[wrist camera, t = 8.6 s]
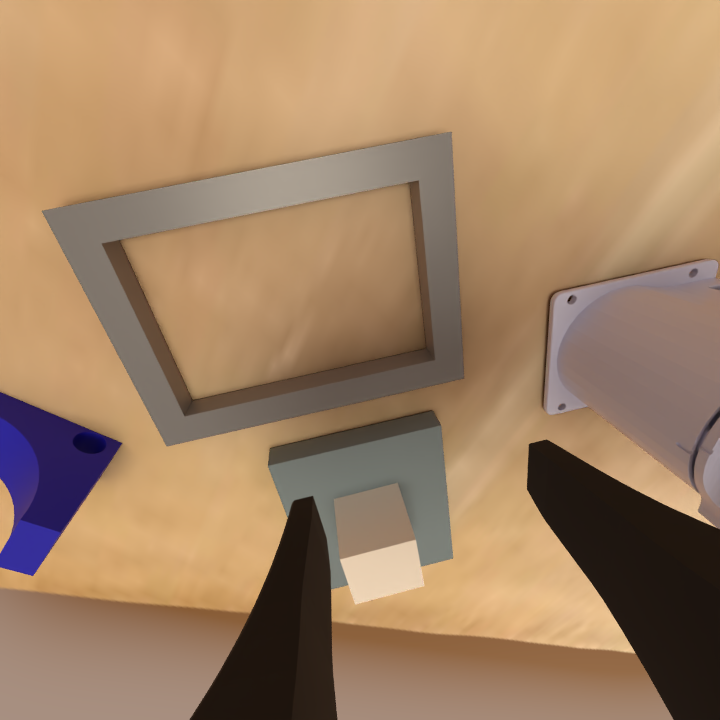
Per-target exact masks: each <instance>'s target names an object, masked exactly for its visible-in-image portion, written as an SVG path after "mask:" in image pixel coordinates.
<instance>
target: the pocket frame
mask: <svg viewBox="0 0 720 720" xmlns="http://www.w3.org/2000/svg"><path fill="white" fill-rule="evenodd" d="M408 182H410V192H411V202H412V212H413V221H414V231H415V241H416V251H417V261H418V271H419V281H420V290H421V300H422V310H423V320H424V330H425V340H426V349H422V350H417V351H413V352H408V353H404V354H399V355H395V356H390V357H386V358H381V359H377V360H372V361H368V362H363V363H359V364H354V365H350V366H345V367H341V368H337V369H332V370H328V371H323V372H319V373H314V374H310V375H305V376H301V377H296V378H292V379H287V380H283V381H278V382H274V383H269V384H265V385H260V386H256V387H251V388H247V389H242V390H238V391H233V392H229V393H225V394H220V395H216V396H211V397H207V398H202V399H198V400H193V401H192V399H191V396H190V394H189V392H188V390H187V388H186V386H185V383H184V381H183V379H182V377H181V375H180V372H179V370H178V368H177V366H176V364H175V361H174V359H173V357H172V355H171V353H170V351H169V348H168V346H167V344H166V342H165V340H164V337H163V335H162V333H161V331H160V329H159V326H158V324H157V322H156V320H155V318H154V316H153V313H152V311H151V309H150V307H149V305H148V302H147V300H146V298H145V296H144V294H143V291H142V289H141V287H140V285H139V283H138V280H137V278H136V276H135V274H134V272H133V270H132V267H131V265H130V263H129V261H128V259H127V256H126V254H125V252H124V250H123V248H122V245H121V243H120V241H119V240H122V239H127V238H132V237H137V236H142V235H147V234H152V233H157V232H162V231H167V230H172V229H177V228H182V227H187V226H192V225H197V224H202V223H207V222H212V221H217V220H222V219H227V218H232V217H237V216H242V215H247V214H252V213H257V212H262V211H267V210H272V209H277V208H282V207H287V206H293V205H298V204H303V203H308V202H313V201H318V200H323V199H328V198H333V197H338V196H343V195H348V194H353V193H358V192H363V191H368V190H373V189H378V188H383V187H388V186H393V185H398V184H403V183H408ZM42 213H43V214H44V216H45V218H46V220H47V222H48V224H49V226H50V228H51V230H52V231H53V233H54V235H55V237H56V239H57V241H58V243H59V245H60V246H61V248H62V250H63V252H64V254H65V256H66V258H67V260H68V262H69V263H70V265H71V267H72V269H73V271H74V273H75V275H76V277H77V278H78V280H79V282H80V284H81V286H82V288H83V290H84V292H85V294H86V295H87V297H88V299H89V301H90V303H91V305H92V307H93V309H94V310H95V312H96V314H97V316H98V318H99V320H100V322H101V324H102V326H103V327H104V329H105V331H106V333H107V335H108V337H109V339H110V341H111V342H112V344H113V346H114V348H115V350H116V352H117V354H118V356H119V358H120V359H121V361H122V363H123V365H124V367H125V369H126V371H127V373H128V374H129V376H130V378H131V380H132V382H133V384H134V386H135V388H136V390H137V391H138V393H139V395H140V397H141V399H142V401H143V403H144V405H145V406H146V408H147V410H148V412H149V414H150V416H151V418H152V420H153V422H154V423H155V425H156V427H157V429H158V431H159V433H160V435H161V437H162V438H163V440H164V442H165V444H166V446H171V445H175V444H180V443H184V442H189V441H193V440H197V439H202V438H206V437H210V436H215V435H219V434H224V433H228V432H232V431H237V430H241V429H245V428H250V427H254V426H259V425H263V424H267V423H272V422H276V421H280V420H285V419H289V418H294V417H298V416H302V415H307V414H311V413H315V412H320V411H324V410H329V409H333V408H337V407H342V406H346V405H350V404H355V403H359V402H364V401H368V400H372V399H377V398H381V397H385V396H390V395H394V394H398V393H403V392H407V391H412V390H416V389H420V388H425V387H429V386H433V385H438V384H442V383H447V382H451V381H455V380H460V379H464V364H463V345H462V325H461V306H460V286H459V267H458V248H457V228H456V209H455V189H454V170H453V150H452V132H447V133H442V134H437V135H432V136H427V137H422V138H416V139H411V140H406V141H401V142H396V143H390V144H385V145H380V146H375V147H370V148H365V149H359V150H354V151H349V152H344V153H339V154H334V155H328V156H323V157H318V158H313V159H308V160H303V161H297V162H292V163H287V164H282V165H277V166H272V167H266V168H261V169H256V170H251V171H246V172H241V173H235V174H230V175H225V176H220V177H215V178H209V179H204V180H199V181H194V182H189V183H184V184H178V185H173V186H168V187H163V188H158V189H153V190H147V191H142V192H137V193H132V194H127V195H122V196H116V197H111V198H106V199H101V200H96V201H91V202H85V203H80V204H75V205H70V206H65V207H59V208H54V209H49V210H44V211H42Z"/></svg>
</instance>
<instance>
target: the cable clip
mask: <svg viewBox="0 0 720 720" xmlns="http://www.w3.org/2000/svg"><path fill="white" fill-rule="evenodd" d="M121 444H122V443H121V442H118V441H116V440H113V439H111V438H109V437H106V436H104V435H101V434H99V433H97V432H94V431H92V430H90V429H87V428H85V427H82V426H80V425H78V424H75V423H73V422H70V421H68V420H66V419H63V418H61V417H58V416H56V415H54V414H51V413H49V412H46V411H44V410H42V409H39V408H37V407H34V406H32V405H30V404H27V403H25V402H23V401H20V400H18V399H15V398H13V397H11V396H8V395H6V394H3V393H1V392H0V479H1V480H2V481H3V482H4V484H5V485H6V487H7V488H8V490H9V492H10V495H11V497H12V501H13V505H14V525H13V529H12V533H11V536H10V538H9V540H8V541H7V543H6V545H5V546H4V548H3V550H2V551H1V553H0V567H1V568H5V569H9V570H12V571H16V572H20V573H24V574H28V575H31V576H33V575H34V574H35V572H36V571H37V569H38V568H39V567H40V565H41V564H42V562H43V561H44V559H45V558H46V556H47V555H48V553H49V552H50V550H51V549H52V547H53V546H54V544H55V543H56V542H57V540H58V539H59V537H60V536H61V534H62V533H63V531H64V530H65V528H66V527H67V525H68V524H69V522H70V521H71V520H72V518H73V517H74V515H75V514H76V512H77V511H78V509H79V508H80V506H81V505H82V503H83V502H84V500H85V499H86V497H87V496H88V495H89V493H90V492H91V490H92V489H93V487H94V486H95V484H96V483H97V481H98V480H99V478H100V477H101V475H102V474H103V472H104V471H105V469H106V468H107V466H108V464H109V463H110V461H111V460H112V458H113V457H114V455H115V454H116V452H117V450H118V449H119V447H120V446H121Z"/></svg>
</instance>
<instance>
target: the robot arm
mask: <svg viewBox="0 0 720 720" xmlns="http://www.w3.org/2000/svg"><path fill="white" fill-rule="evenodd" d="M717 270H718V262H717V261H716V260H712V259H704V260H700V261H695V262H691V263H686V264H682V265H677V266H672V267H668V268H663V269H659V270H654V271H650V272H645V273H641V274H636V275H631V276H627V277H622V278H618V279H613V280H609V281H604V282H600V283H595V284H590V285H586V286H581V287H577V288H572V289H568V290H563V291H559V292H557V293H555V294H554V295H553V296H552V298H551V301H550V315H549V330H548V346H547V361H546V376H545V392H544V407H543V408H544V410H545V412H546V413H547V414H549V415H555V414H559V413H563V412H567V411H571V410H576V409H580V408H584V407H589V408H591V409H592V410H593V411H595V412H596V413H597V414H598V415H600V416H601V417H602V418H603V419H605V420H606V421H607V422H609V423H610V424H611V425H612V426H614V427H615V428H616V429H617V430H619V431H620V432H621V433H623V434H624V435H625V436H626V437H628V438H629V439H630V440H632V441H633V442H634V443H635V444H637V445H638V446H639V447H640V448H642V449H643V450H644V451H646V452H647V453H648V454H649V455H651V456H652V457H653V458H654V459H656V460H657V461H658V462H660V463H661V464H662V465H663V466H665V467H666V468H667V469H668V470H670V471H671V472H672V473H674V474H675V475H676V476H677V477H679V478H680V479H681V480H683V481H684V482H685V483H686V484H688V485H689V486H690V487H691V488H693V489H694V490H695V491H697V492H698V493H699V494H700V495H701V504H700V506H699V509H698V512H699V513H700V514H701V515H703V516H704V517H705V518H706V519H707V520H709V521H710V522H711V523H712V524H713V525H715V526H716V527H717V528H716V527H713V526H711V525H708V524H706V523H704V522H701V521H699V520H697V519H695V518H692V517H690V516H688V515H686V514H683V513H681V512H679V511H677V510H674V509H672V508H670V507H668V506H666V505H664V504H662V503H660V502H658V501H656V500H654V499H652V498H650V497H648V496H646V495H644V494H642V493H640V492H638V491H636V490H634V489H632V488H630V487H629V486H627V485H625V484H623V483H621V482H619V481H618V480H616V479H614V478H612V477H610V476H609V475H607V474H605V473H603V472H601V471H600V470H598V469H596V468H595V467H593V466H591V465H589V464H588V463H586V462H584V461H583V460H581V459H579V458H577V457H576V456H574V455H572V454H571V453H569V452H567V451H566V450H564V449H562V448H561V447H559V446H557V445H555V444H554V443H552V442H550V441H548V440H543V441H539V442H535V443H530V444H529V456H528V478H527V490H528V492H529V493H530V495H531V497H532V499H533V501H534V502H535V504H536V506H537V508H538V509H539V511H540V513H541V514H542V516H543V518H544V519H545V521H546V522H547V523H548V525H549V526H550V528H551V529H552V530H553V532H554V533H555V534H556V536H557V537H558V539H559V540H560V541H561V543H562V544H563V545H564V547H565V548H566V549H567V551H568V552H569V553H570V555H571V556H572V557H573V559H574V560H575V561H576V563H577V564H578V565H579V567H580V568H581V569H582V571H583V572H584V574H585V575H586V576H587V578H588V579H589V580H590V582H591V583H592V584H593V586H594V587H595V589H596V590H597V592H598V593H599V594H600V596H601V597H602V599H603V600H604V602H605V603H606V605H607V607H608V608H609V610H610V612H611V613H612V615H613V616H614V618H615V620H616V621H617V623H618V624H619V626H620V628H621V629H622V631H623V633H624V634H625V636H626V638H627V639H628V641H629V643H630V644H631V646H632V648H633V649H634V651H635V653H636V654H637V656H638V658H639V659H640V661H641V663H642V664H643V666H644V668H645V670H646V671H647V673H648V675H649V677H650V678H651V680H652V682H653V684H654V685H655V687H656V689H657V691H658V693H659V694H660V696H661V698H662V700H663V701H664V703H665V705H666V707H667V708H668V710H669V712H670V714H671V716H672V717H673V719H674V720H720V279H717V278H716V274H717ZM690 271H691V272H690ZM689 273H690V274H689ZM570 296H572V298H571V300H570V301H569V302H567V300H568V298H569V297H570ZM560 404H561V405H560ZM559 405H560V406H559ZM558 406H559V407H558ZM331 623H332V622H331V570H330V561H329V552H328V544H327V537H326V534H325V531H324V528H323V525H322V522H321V519H320V516H319V512H318V509H317V506H316V503H315V500H314V497H313V496H310V497H306V498H301V499H297V500H294V501H293V503H292V504H291V508H290V512H289V516H288V519H287V523H286V526H285V529H284V532H283V535H282V538H281V541H280V544H279V547H278V549H277V552H276V555H275V557H274V560H273V563H272V565H271V568H270V570H269V573H268V575H267V578H266V580H265V582H264V585H263V587H262V589H261V592H260V594H259V596H258V599H257V601H256V603H255V605H254V607H253V609H252V611H251V614H250V616H249V618H248V620H247V622H246V624H245V626H244V628H243V630H242V631H241V634H240V636H239V637H238V639H237V641H236V643H235V645H234V647H233V648H232V650H231V652H230V654H229V656H228V657H227V659H226V661H225V663H224V665H223V666H222V668H221V670H220V672H219V673H218V675H217V677H216V678H215V680H214V682H213V683H212V685H211V687H210V688H209V690H208V692H207V693H206V695H205V696H204V698H203V699H202V701H201V703H200V704H199V706H198V707H197V709H196V710H195V712H194V714H193V716H192V717H191V718H190V720H337V711H336V702H335V701H336V700H335V691H334V679H333V665H332V627H331V625H332V624H331Z"/></svg>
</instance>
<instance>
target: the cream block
mask: <svg viewBox="0 0 720 720" xmlns="http://www.w3.org/2000/svg"><path fill="white" fill-rule="evenodd" d="M334 507H335V517H336V527H337V536H338V546H339V556H340V561H341V564H342V567H343V570H344V573H345V576H346V579H347V582H348V585H349V588H350V591H351V594H352V597H353V599H354V602H355V604H359V603H363V602H367V601H370V600H374V599H378V598H381V597H385V596H389V595H393V594H396V593H400V592H404V591H408V590H411V589H415V588H419V587H422V586H424V581H423V576H422V570H421V565H420V559H419V554H418V549H417V543H416V539H415V536H414V532H413V529H412V526H411V523H410V520H409V517H408V514H407V511H406V507H405V504H404V501H403V498H402V495H401V492H400V489H399V485H398V483H395V484H391V485H387V486H383V487H379V488H375V489H371V490H368V491H364V492H360V493H356V494H352V495H348V496H344V497H340V498H336V499H334Z"/></svg>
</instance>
